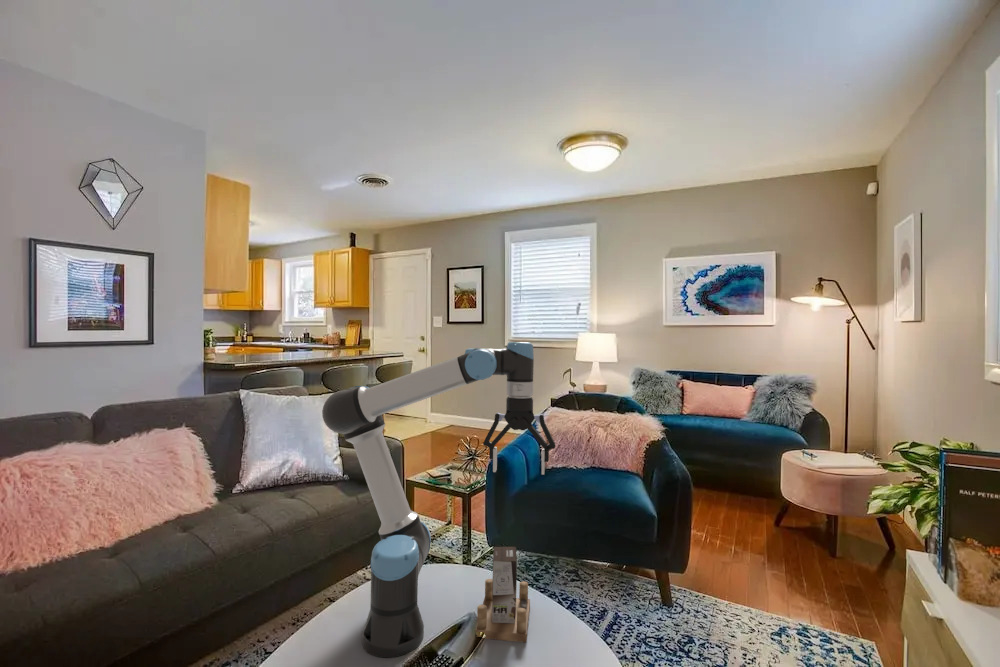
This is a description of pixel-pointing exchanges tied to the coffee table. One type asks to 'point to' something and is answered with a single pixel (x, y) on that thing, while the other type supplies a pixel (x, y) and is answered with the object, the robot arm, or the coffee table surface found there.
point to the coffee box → (504, 585)
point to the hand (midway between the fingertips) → (518, 472)
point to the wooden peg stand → (502, 629)
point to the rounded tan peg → (523, 592)
